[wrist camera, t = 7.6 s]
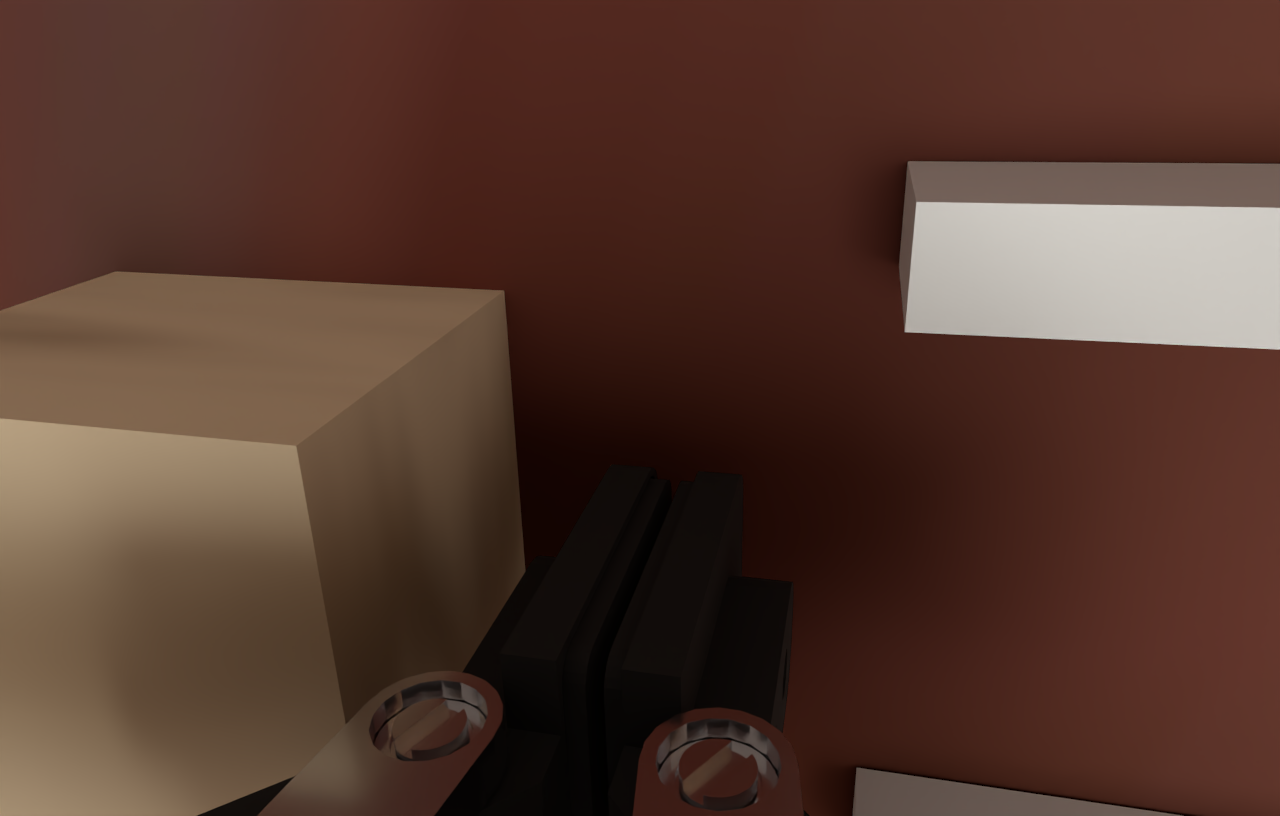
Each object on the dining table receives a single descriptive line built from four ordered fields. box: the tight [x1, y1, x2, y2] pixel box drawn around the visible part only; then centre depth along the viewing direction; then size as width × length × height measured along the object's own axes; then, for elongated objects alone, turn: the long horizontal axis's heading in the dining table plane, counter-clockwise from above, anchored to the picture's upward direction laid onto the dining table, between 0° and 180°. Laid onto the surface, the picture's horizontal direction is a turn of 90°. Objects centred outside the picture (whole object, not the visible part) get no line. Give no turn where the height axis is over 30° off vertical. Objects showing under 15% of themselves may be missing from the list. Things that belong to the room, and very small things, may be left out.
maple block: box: [0, 271, 525, 816], centre depth 12 cm, size 6×6×5 cm
